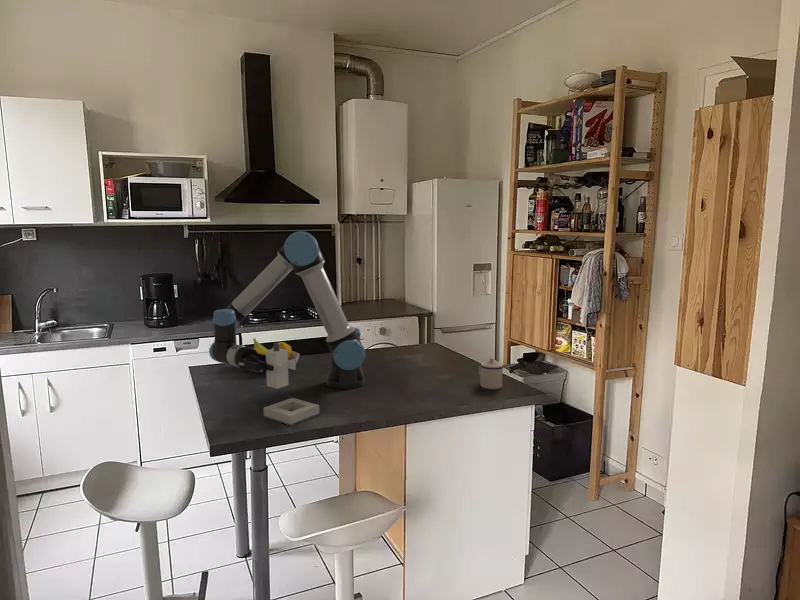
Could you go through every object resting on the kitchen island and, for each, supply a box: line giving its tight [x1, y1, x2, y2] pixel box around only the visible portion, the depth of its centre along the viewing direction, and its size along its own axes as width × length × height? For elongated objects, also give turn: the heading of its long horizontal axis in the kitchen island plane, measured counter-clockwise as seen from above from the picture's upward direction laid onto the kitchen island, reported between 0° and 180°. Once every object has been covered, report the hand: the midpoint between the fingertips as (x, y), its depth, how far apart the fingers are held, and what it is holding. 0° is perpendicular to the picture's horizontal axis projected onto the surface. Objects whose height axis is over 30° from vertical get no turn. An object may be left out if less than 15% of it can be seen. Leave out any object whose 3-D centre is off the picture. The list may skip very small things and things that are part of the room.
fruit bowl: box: [247, 337, 300, 373], centre depth 242 cm, size 28×27×11 cm
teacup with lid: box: [477, 357, 504, 390], centre depth 220 cm, size 12×9×12 cm
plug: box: [265, 342, 290, 390], centre depth 182 cm, size 5×5×14 cm
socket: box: [263, 397, 320, 427], centre depth 185 cm, size 17×13×4 cm
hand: (288, 367), depth 179 cm, fingers closed on plug, 5 cm apart
